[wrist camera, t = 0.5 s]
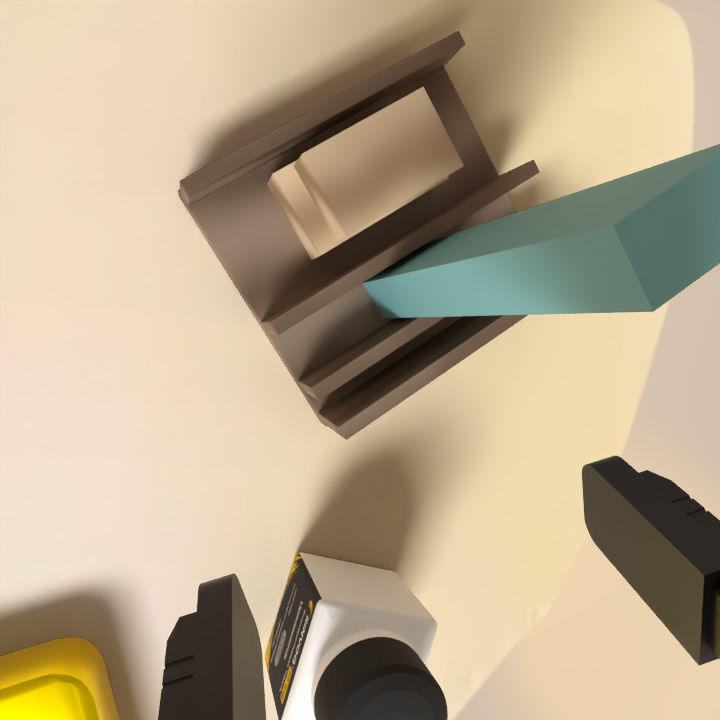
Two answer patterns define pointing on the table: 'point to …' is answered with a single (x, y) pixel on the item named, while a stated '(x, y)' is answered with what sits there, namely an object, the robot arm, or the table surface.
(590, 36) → the table surface
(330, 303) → the wooden rack
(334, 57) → the table surface
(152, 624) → the table surface
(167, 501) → the table surface
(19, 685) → the element tile
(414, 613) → the medicine bottle
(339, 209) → the upper oak offcut
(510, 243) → the teal board
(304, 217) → the lower oak offcut
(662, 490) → the robot arm
